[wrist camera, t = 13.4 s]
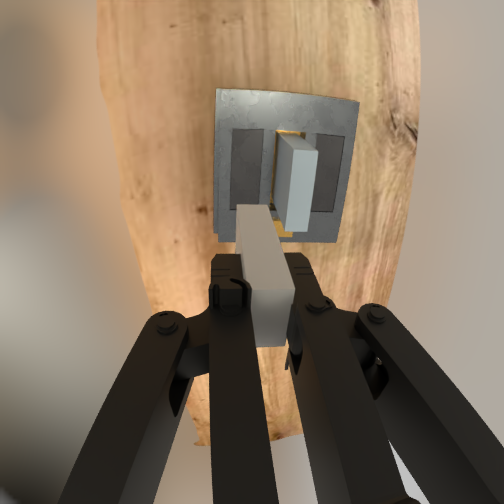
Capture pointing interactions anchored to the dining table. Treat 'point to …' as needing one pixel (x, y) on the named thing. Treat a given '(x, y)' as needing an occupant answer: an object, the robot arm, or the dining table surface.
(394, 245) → the dining table surface
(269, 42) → the dining table surface
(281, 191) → the panel
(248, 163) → the panel
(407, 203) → the dining table surface
